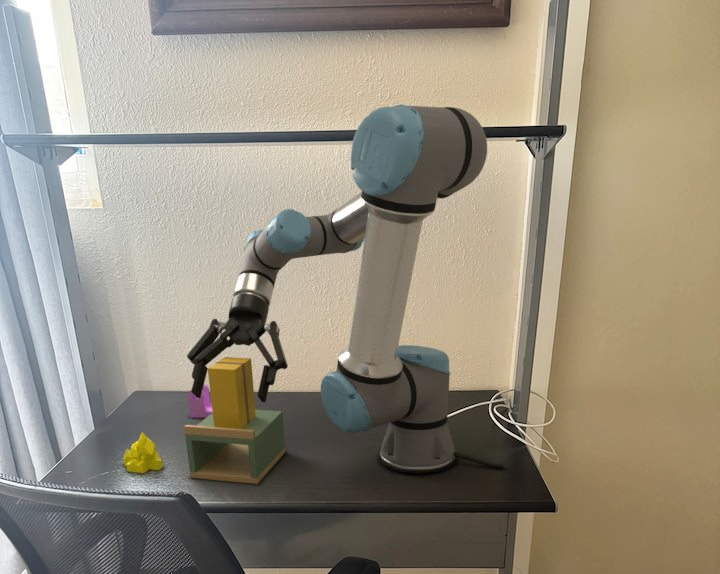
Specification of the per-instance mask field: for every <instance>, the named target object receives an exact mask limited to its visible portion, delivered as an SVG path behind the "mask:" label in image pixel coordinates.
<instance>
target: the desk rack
mask: <svg viewBox="0 0 720 574" xmlns="http://www.w3.org/2000/svg"><path fill="white" fill-rule="evenodd" d="M255 411H256V417H254V418H253V419H252V420H251V421H250V422H249V423H248V424H247V425H246V426H244V427H243V428H242V429H236V428H223V427H214V420H213V413H212V414H211V415H209V416H208V417H207V418H203V420H201V421H200V422H199V423H198V424H185V425H184V426H183V430H184V436H185V445H186V453H187V459H188V460H187V461H188V466H189V467H188V469H189V475H190V479H201V480H212V481H221V482H232V483H242V484H243V483H244V484H252V485H253V484H254V485H258V484H259V483H260V482H261V481H262V479H263V478H264V477H265V476H266V475H267V474H268V473H269V471H270V470H271V469H272V468H273V467H274V466H275V465H276V464H277V462H278V461H279V460H280V459H281V458H282V456H283V455H285V453H286V446H285V445H286V444H285V429H284V414H283V411H280V410H266V409H255Z"/></svg>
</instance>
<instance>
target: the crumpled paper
mask: <svg viewBox="0 0 720 574" xmlns="http://www.w3.org/2000/svg"><path fill="white" fill-rule="evenodd" d="M156 449H157V448H156V445H155V443H154V442H153V441H152V440H151V439H150V438H149V437H147V436H146V435H145V433H144V432H143V431H142V432H141V433H140V436H139V438H138V440H136V441H134V443H133V444H131V447H130V449H128V448H126V450H125V452H124V455H123V458H122V462H123V466H124V467H126V471H127V472H130V473H136V474H137V473H138V474H145V473H146V472H147V471H150V470H154V471H160V470H161V469H163V468H164V467H163V466H164V464H163V459H161V457H160V456H159V454H158V452H159V451H157V450H156Z"/></svg>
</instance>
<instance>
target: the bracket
mask: <svg viewBox="0 0 720 574" xmlns="http://www.w3.org/2000/svg"><path fill="white" fill-rule="evenodd" d="M187 401H188V408H189V417H190V418H193V419H194V418H199V419H201V418H203V419H205V418H207V417H208V416H209V415H211V414H212V413H213V412H212V403H211V394H210V387H209V385H207V384H206V383H204V386H203V389H202V393H201V397H200V398H197V397H196V396H195V395H194V394H193V393H192V392H191V390H190V391H189V392H188V394H187Z"/></svg>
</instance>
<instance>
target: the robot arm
mask: <svg viewBox="0 0 720 574" xmlns="http://www.w3.org/2000/svg"><path fill="white" fill-rule="evenodd" d="M349 155H350V156H349V157H350V158H349V164H350V169H351V170H353V173H352V179H353V180H354V183H355V184H356V186H357V188H358V189H359V190H360V192H359V193H358V194H357V195H355V196H353V197H352V198H350V199H349V200H348V201H346V202H345V203H343V204H342V205H340V206H339V207H337V208H336V209H334V210H333V211H332V212H330V213H328V214H321V215H313V216H305V215H304V213H302V212H301V211H297V210H295V209H292V208H287V209H283V210H281V211H280V212H278V213H277V215H276V216H274V217H272V218H271V219H270V220H269V222H268V224H267V225H266V226H265V227H264V228H263V229H259V230H257V231H255V230H254V231H252V232H251V233H250V234H249V235H248V238H247V241H246V243H245V245H244V248H243V256H242V259H241V262H240V263H241V264H240V266H239V267H240V268H239V272H238V275H237V279H236V283H235V288H234V290H233V293H232V294H233V295H232V298H231V303H230V307H229V310H228V317H227V320H226V321H225V322H223V321H218V319H217V318H213V319H212V320H211V322H210V324H209V328H208V329H207V330H206V331H205V332H204V334H203V335H202V336H201V337H200V338H199V340H198V341H197V342H196V343H195V345H194V346H192V348H191V349H190V351H189V352H188V353H187V355H186V357H187V359H188V360H189V361H190V362H191V364H192V365H193V369H192V373H191V377H192V379H193V383H192V387H191V389H190V391H191V392H192V393H193V394H194V395H195V396H196V397H197V398H200V397H201V393H202V391H203V390H202V389H203V386H204V384H205V381H206V377H207V375H208V368H209V367H207V366H208V364H209V363H211V362H212V361H213V360H214V359H215V358H217V357H218V356H220V354H221V353H223V352H224V351H226V349H227V348H231V347H233V346H234V345H235V346H243V345H244V346H248V347H249V346H251V345H253V344H255V346H256V347H257V349H258V350H259V352H260V353H261V355H262V356H263V358H264V359H265V361H266V363H267V364H264V365H263V369H262V373H261V378H260V382H259V386H258V391H257V395H256V396H257V397H258V399H259V400H260V401H261V403H266V402H267V398H268V392H269V390H270V389H269V388H270V386H274V384H275V382H276V377H277V372H278V371H279V370H281V369H282V370H287V368H288V367H289V365H288V362H287V359H286V356H285V352H284V350H283V347H282V343H281V340H280V327H279V325H278V323H277V322H276V321H275V320H272V321H270V323H267V319H268V315H269V311H270V305H271V301H272V297H273V293H274V289H275V285H276V281H277V277H278V274H279V272H280V271H281V270H282V269H283V268H284V267H285V266H286V265H287V264H288V263H289V262H290V261H291V260H293V259H300V258H301V259H303V258H310V257H316V256H317V257H318V256H326V255H333V254H335V255H336V254H346V253H350V252H353V251H354V252H355V251H357V250H359V249H360V248H361V247H362V244H363V247H362V255H361V261H360V267H359V276H358V282H357V289H356V294H355V302H354V308H353V309H354V310H353V315H352V322H351V328H350V336H349V342H348V346H346V347H344V348H343V349H341V351H339V353H338V358H337V364H336V369H335V371H329V373H327V374H326V375H324V376H323V378H322V379H321V382H320V398H321V402H322V406H323V408H324V410H325V413H326V414H327V417H328V418H329V420H330V421H331V423H332V424H333V425H334V426H335V427H336V428H337V429H339V430H340V431H341V432H343V433H346V434H356V433H360V432H367V431H369V430H371V429H374V428H378V427H380V426H383V425H387V424H388V426H387V429H386V432H385V435H384V437H383V441H382V444H381V447H380V452H379V454H380V456H379V457H380V463H381V464H382V465H383V466H385V467H386V468H388V469H389V470H393V471H395V472H399V473H405V474H410V475H411V474H412V475H413V474H414V475H425V474H434V473H438V472H443V471H445V470H447V469H449V468H451V467H452V466H453V465H454V464H455V462H456V458H459V459H463V460H467V461H470V462H473V463H476V464H480V465H483V466H486V467H490V468H495V469H496V468H497V469H504V463H500V462H492V461H489V460H485V459H482V458H479V457H475V456H472V455H469V454H465V453H460V452H457V451H456V449H455V445H454V441H453V438H452V435H451V432H450V429H449V425H448V413H449V395H450V393H449V392H450V375H451V372H450V359H449V355H448V354H447V353H446V352H445V351H443V350H440V349H437V348H434V347H429V346H421V345H407V344H404V345H402V344H401V345H399V344H400V338H401V333H402V328H403V324H404V319H405V314H406V313H405V312H406V307H407V303H408V298H409V293H410V287H411V283H412V277H413V272H414V267H415V262H416V256H417V252H418V246H419V241H420V236H421V233H422V231H421V230H422V226H423V221H424V220H425V219H426V218H428V217H429V216H430V215H432V214H434V212H435V211H436V205H437V202H438V199H441V200H442V199H446V198H449V197H451V196H452V195H454V194H456V193H457V192H460V191H461V190H462V189H464V188H467V186H469V185H470V184H472V183H473V182H475V180H476V179H477V178H478V177H479V176H480V174H481V173H482V170H483V169H484V167H485V164H486V161H487V155H488V141H487V135H486V133H485V131H484V128H483V126H482V124H481V123H480V122H479V120H478V119H477V118H475V116H473V114H472V113H470V112H469V111H467V110H464V109H462V108H459V107H453V106H444V107H442V106H441V107H440V106H425V105H424V106H423V105H422V106H421V105H405V104H398V105H393V106H384V107H383V106H382V107H379V108H376V109H374V110H372V111H371V112H370V113H369V114H368V115H367V116H366V117H365V118H363V119H362V121H361V122H360V124H359V125H358V127H357V129H356V131H355V133H354V136H353V139H352V142H351V147H350V154H349ZM266 332H267V334H268V335H269V336H270V339H271V342H272V346H273V349H274V352H275V355H276V360H274V358H273V357H272V355H271V354H270V352H269V350H268V349H267V347H266V346H265V344H264V343H263V342H262V340H261V337H262V336H263V335H264V334H265V333H266ZM228 338H229V339H228Z"/></svg>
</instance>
